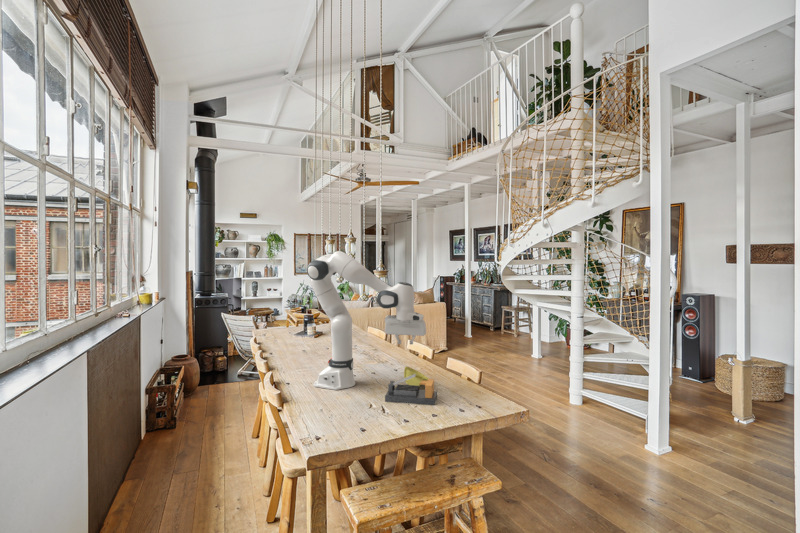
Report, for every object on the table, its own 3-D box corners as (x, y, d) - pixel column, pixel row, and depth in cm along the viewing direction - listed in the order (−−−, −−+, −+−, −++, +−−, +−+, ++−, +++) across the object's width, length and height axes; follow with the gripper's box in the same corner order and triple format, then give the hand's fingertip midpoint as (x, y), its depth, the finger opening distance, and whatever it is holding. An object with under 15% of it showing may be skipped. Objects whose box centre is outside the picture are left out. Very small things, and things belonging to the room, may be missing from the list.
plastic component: (435, 382, 210) (421, 377, 206) (430, 395, 209) (415, 390, 205) (417, 370, 228) (403, 365, 223) (412, 382, 227) (398, 377, 222)
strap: (390, 387, 193) (389, 384, 193) (391, 385, 195) (390, 383, 196) (415, 377, 190) (414, 374, 190) (416, 375, 193) (415, 373, 193)
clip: (418, 397, 186) (418, 384, 186) (422, 390, 196) (422, 378, 196) (431, 398, 185) (431, 385, 185) (434, 391, 195) (434, 379, 195)
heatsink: (385, 401, 189) (384, 386, 189) (390, 393, 200) (390, 379, 200) (434, 405, 184) (434, 389, 184) (437, 397, 195) (437, 382, 195)
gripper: (383, 316, 191) (383, 344, 191) (424, 317, 187) (424, 346, 187) (386, 314, 197) (386, 341, 197) (426, 315, 193) (426, 343, 193)
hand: (405, 343), depth 192 cm, fingers open, 5 cm apart
